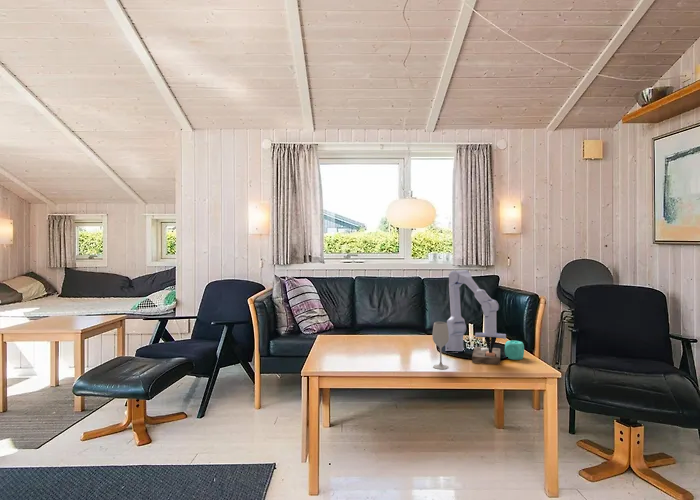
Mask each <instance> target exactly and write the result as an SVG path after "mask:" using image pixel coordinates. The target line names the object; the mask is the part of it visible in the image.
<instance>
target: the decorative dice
mask: <svg viewBox="0 0 700 500" xmlns="http://www.w3.org/2000/svg"><path fill="white" fill-rule="evenodd" d="M524 356H525V345H524V343H523V341H519V340H507V341H506V342H505V344H504V357H508V358H507V359H509V360H512V361H513V360H514V361H515V360H516V361H520V360H523V358H524Z"/></svg>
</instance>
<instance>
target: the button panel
mask: <svg viewBox="0 0 700 500" xmlns="http://www.w3.org/2000/svg"><path fill="white" fill-rule="evenodd" d="M481 348H487V347H484V346H483V347H482V346H474V347H473V351H472V356H471V363H474V364H475V363H476V364H485V365H486V364H489V365H501V348H499V347H493V349H492V351H493V352H495V356H486V352H487V351H484V350H481Z"/></svg>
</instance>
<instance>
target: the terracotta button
mask: <svg viewBox="0 0 700 500" xmlns="http://www.w3.org/2000/svg"><path fill="white" fill-rule="evenodd" d="M486 356H495V352H493V351H492V353H489V351H487V352H486Z"/></svg>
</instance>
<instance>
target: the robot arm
mask: <svg viewBox="0 0 700 500" xmlns="http://www.w3.org/2000/svg"><path fill="white" fill-rule="evenodd" d="M463 284H464V285H466V286H467V287H468V288H469V289H470V290H471V292H473V294H474V298H475V299H476V300H477V301H478V303H479V304H480V305H481V310H482V312H483V313H482V315H483V318H484V319H483V320H484V321H483V323H484V329H483V332H475V333H474V338H484V341H485V343H486V345H487V348H488V349H489V353H492V349H493V348H494V346H495V343H496V341H497V339H504V340H506V339H507V334H506V333H500V332H499V333H498V332H497V311H499V309H500V305H499V303H498V301H497V300H496V299H493V298H491V297H490V295H488V293H487V291H486V290H485V289H483V288H482V289H481V288H480V287H479V286H478V284H477V283H476V281H475V280H474V278H473V277H472V273H470V271H469V270H468V269H463V270H462V269H460V270H459V269H458V270H454V269H453V270H451V271H450V273H448V292H449V306H450V307H449V308H450V317H449V318H448V319H447V320H446V323H447V326H448V332H449V340H448V342H447V344H446V345H445V346H444V347H445V351H463V350H464V349H465V348H464V335H465V333H466V331H467V325H466V321H465V320H466V319H465V318H464V317H463V316H462V309H461V293H460V288H461V286H462V285H463ZM464 351H465V350H464Z"/></svg>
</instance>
